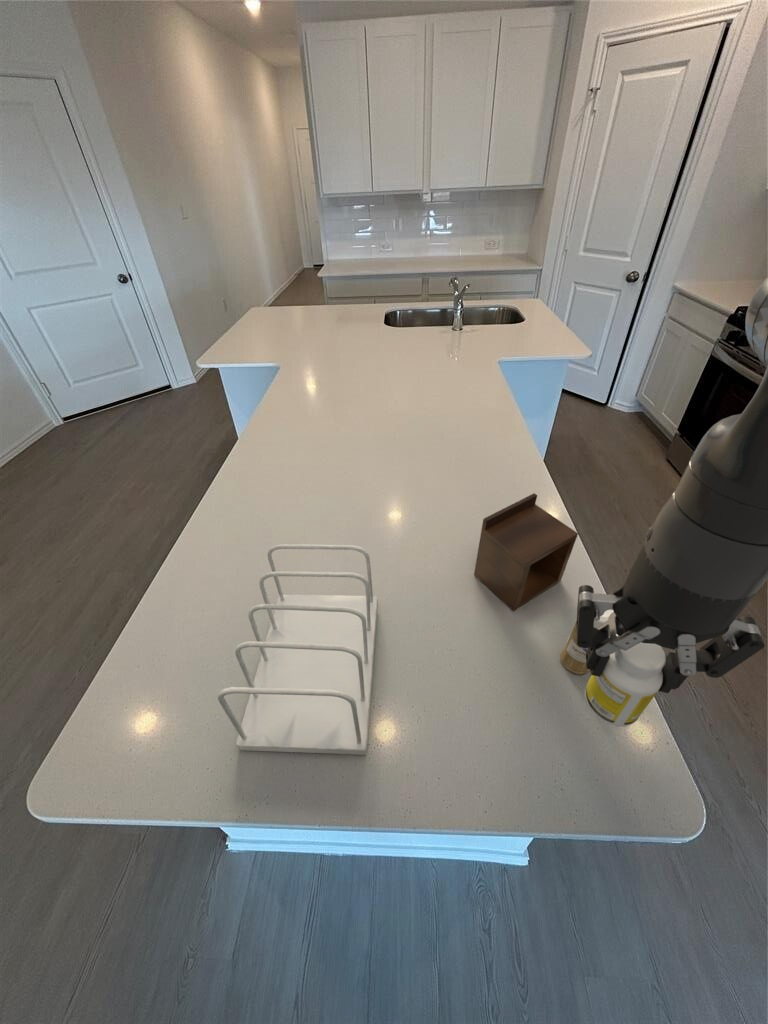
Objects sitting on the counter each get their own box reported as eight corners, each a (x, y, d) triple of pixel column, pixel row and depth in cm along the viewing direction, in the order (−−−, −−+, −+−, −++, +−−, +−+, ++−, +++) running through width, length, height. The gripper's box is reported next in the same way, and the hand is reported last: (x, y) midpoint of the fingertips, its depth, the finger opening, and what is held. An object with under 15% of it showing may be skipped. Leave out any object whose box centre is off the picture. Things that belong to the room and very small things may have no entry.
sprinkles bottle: (565, 676, 66) (591, 622, 57) (555, 649, 69) (578, 595, 61) (596, 674, 66) (626, 621, 57) (584, 648, 69) (611, 593, 61)
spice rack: (560, 581, 80) (581, 524, 71) (513, 611, 75) (529, 554, 66) (519, 548, 86) (534, 492, 77) (473, 574, 81) (483, 518, 72)
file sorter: (280, 600, 78) (262, 537, 68) (378, 603, 77) (374, 539, 67) (238, 751, 59) (204, 694, 49) (367, 756, 58) (360, 699, 48)
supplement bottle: (633, 683, 48) (667, 631, 42) (643, 733, 44) (683, 684, 38) (580, 674, 49) (606, 621, 43) (586, 721, 45) (615, 672, 39)
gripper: (600, 574, 31) (549, 691, 42) (845, 619, 28) (720, 734, 39) (594, 508, 37) (551, 627, 48) (798, 539, 33) (700, 660, 44)
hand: (627, 675), depth 43 cm, fingers closed on supplement bottle, 5 cm apart
